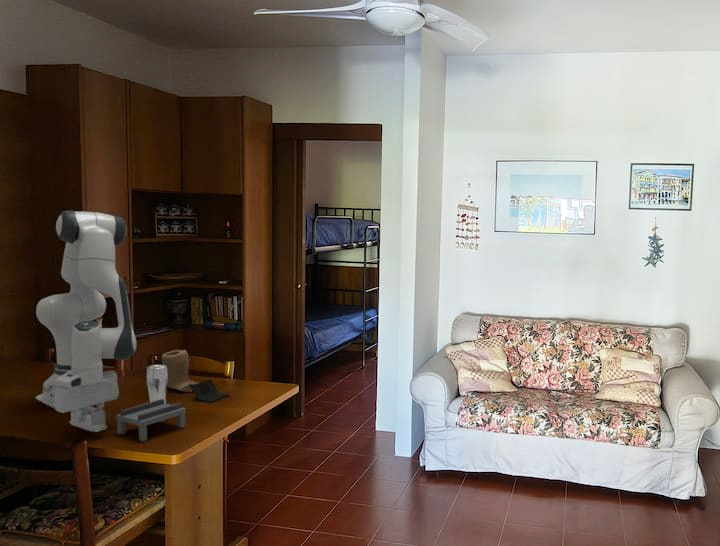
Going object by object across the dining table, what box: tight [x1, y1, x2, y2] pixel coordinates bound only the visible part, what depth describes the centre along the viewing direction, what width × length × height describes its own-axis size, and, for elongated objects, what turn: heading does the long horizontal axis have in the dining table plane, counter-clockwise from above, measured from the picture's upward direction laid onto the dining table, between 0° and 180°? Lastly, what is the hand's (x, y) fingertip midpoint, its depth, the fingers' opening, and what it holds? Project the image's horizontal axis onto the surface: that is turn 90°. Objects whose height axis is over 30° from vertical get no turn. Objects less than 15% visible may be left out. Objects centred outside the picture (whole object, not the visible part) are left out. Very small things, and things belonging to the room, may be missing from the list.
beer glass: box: [146, 364, 169, 404], centre depth 240 cm, size 7×7×15 cm
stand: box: [115, 399, 187, 442], centre depth 219 cm, size 12×17×8 cm
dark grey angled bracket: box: [191, 379, 230, 404], centre depth 256 cm, size 12×7×10 cm
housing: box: [69, 406, 108, 433], centre depth 214 cm, size 13×5×5 cm, turn 55°
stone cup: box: [161, 349, 199, 393], centre depth 267 cm, size 15×12×15 cm
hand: (88, 419), depth 214 cm, fingers closed on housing, 5 cm apart
